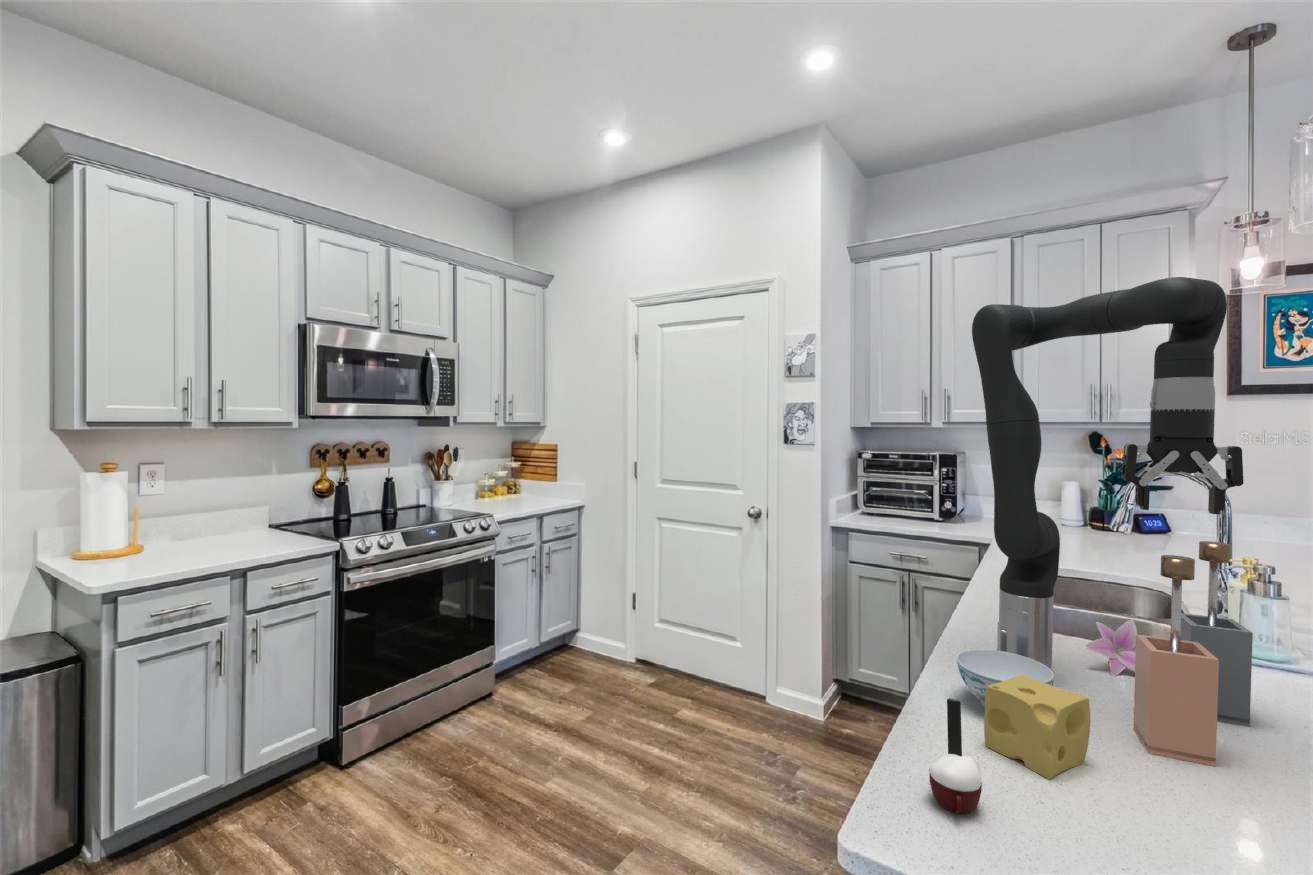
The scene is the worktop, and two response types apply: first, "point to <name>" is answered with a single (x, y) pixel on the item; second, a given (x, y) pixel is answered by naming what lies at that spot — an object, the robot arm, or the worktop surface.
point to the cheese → (1037, 724)
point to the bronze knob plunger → (1176, 591)
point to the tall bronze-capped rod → (1213, 572)
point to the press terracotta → (1176, 699)
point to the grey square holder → (1226, 663)
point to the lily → (1117, 646)
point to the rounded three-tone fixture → (956, 769)
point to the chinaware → (997, 669)
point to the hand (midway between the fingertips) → (1178, 511)
